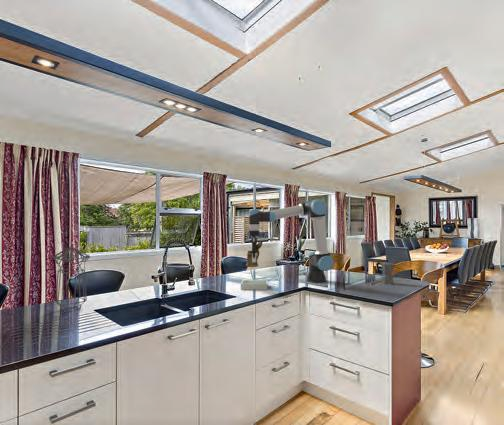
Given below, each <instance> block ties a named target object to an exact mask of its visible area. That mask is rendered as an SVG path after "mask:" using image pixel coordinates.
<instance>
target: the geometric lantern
mask: <svg viewBox="0 0 504 425" xmlns="http://www.w3.org/2000/svg"><path fill="white" fill-rule="evenodd" d="M69 253H70V254H69ZM68 254H69V255H68ZM78 256H80V257H78ZM50 258H51V259H52V258H53V260H54V261H55V265H58V268H59V269H58V270H56V272H57V274H56V288H55V301H54V302H55V303H56V304H57V305H58V306H59V310H60V309H62V310H63V308H66V309H65V311H69V312H72V311H71V310H72V308H74V309H73V311H77V310H76V309H77V308H78V307H79V308H78V310H81V309H82V305H83V304H84V303H85V302H87V286H86V285H87V282H86V262H87V261H88V260H89V259H90V258H91V255H90V254H87V253H85V252H83V251H82V250H80V249H78V248H76V247H74V246H69V247H67V248H65V249H64V250H62V251H61V250H60V252H58V253H56V254H55V255H53V256H51V257H50ZM79 260H80V261H79ZM74 261H77V262H75V263H74ZM61 262H62V263H61ZM65 263H70V264H71V265H70V267H68V268H67V269H62V267H63V266H64V264H65ZM82 263H83V264H84V266H83V267H84V269H82V266H81V265H82ZM60 264H61V265H60ZM76 265H78V267H77V266H76ZM72 266H74V267H75V268H72ZM70 270H74V271H73V273H74V294H73V297H70V298H69V297H68V274H71V273H72V271H70ZM65 271H66V272H65ZM68 271H69V272H68ZM80 272H81V278H82V292H83V293H82V295H83V297H81V283H80V282H81V281H80V280H81V279H80ZM61 274H62V276H61ZM77 274H78V275H77ZM77 276H78V296H76V293H77V292H76V291H77ZM61 277H62V284H61ZM64 282H65V291H66V292H65V295H66V296H65V298H63V297H64V296H63V295H64ZM61 285H62V286H61ZM60 286H61V287H60ZM60 288H61V299H60ZM72 299H73V302H71V303H69V302H68V300H72ZM75 299H76V301H75ZM80 299H81V300H82V301H79V300H80ZM63 301H66V302H65V303H63ZM69 305H72V306H73V307H72V306H69ZM70 308H71V310H70ZM75 308H76V309H75Z"/></svg>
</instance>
